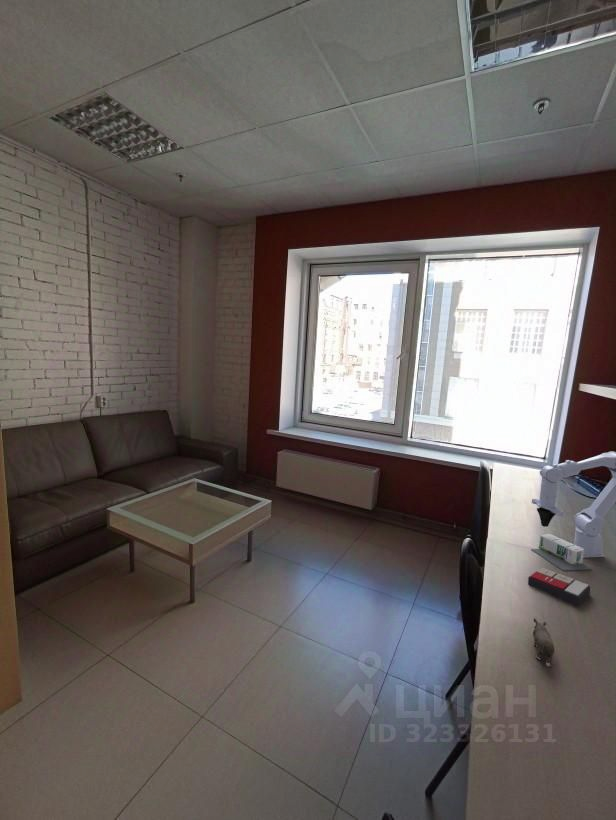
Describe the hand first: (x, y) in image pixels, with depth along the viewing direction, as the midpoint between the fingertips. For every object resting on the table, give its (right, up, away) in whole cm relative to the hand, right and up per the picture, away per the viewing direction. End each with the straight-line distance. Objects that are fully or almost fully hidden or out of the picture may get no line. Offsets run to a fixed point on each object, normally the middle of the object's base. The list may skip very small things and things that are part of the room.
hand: (544, 525), depth 153 cm
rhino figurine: (-38, -15, -56) cm, 69 cm away
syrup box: (0, -7, +1) cm, 7 cm away
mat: (+1, -11, -8) cm, 13 cm away
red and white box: (-14, -13, -29) cm, 35 cm away
